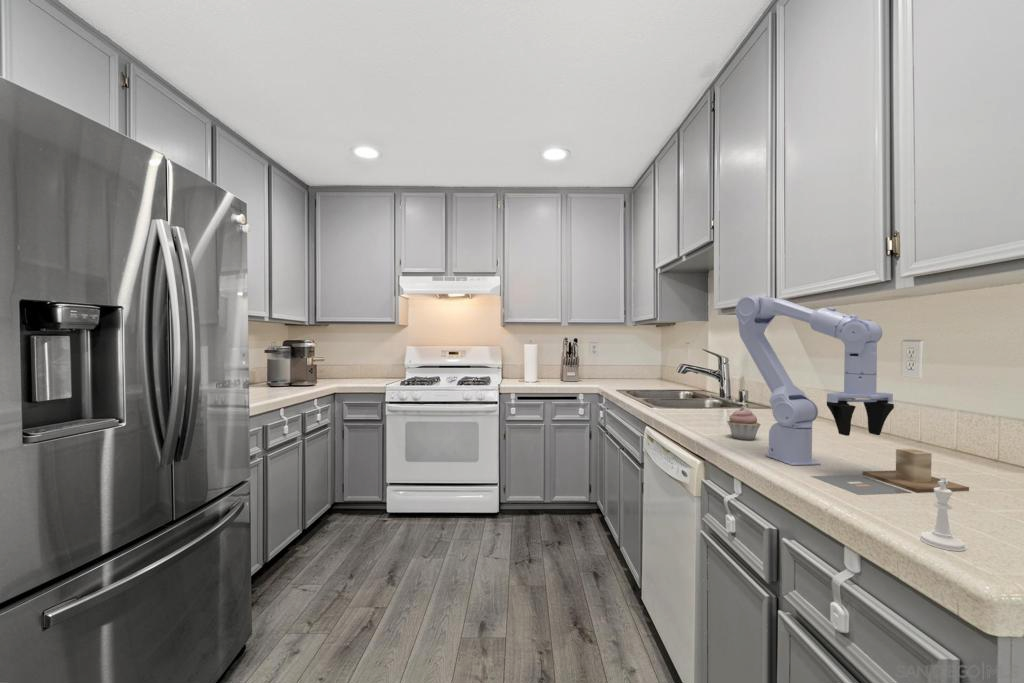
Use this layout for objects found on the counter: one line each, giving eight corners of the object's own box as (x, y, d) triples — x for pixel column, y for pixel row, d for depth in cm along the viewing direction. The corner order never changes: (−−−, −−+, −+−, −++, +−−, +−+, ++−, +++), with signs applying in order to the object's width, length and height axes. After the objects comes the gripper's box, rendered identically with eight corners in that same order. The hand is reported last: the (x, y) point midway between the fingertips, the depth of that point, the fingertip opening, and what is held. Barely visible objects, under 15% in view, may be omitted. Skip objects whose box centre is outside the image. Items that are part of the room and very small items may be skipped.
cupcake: (721, 434, 143) (721, 403, 143) (751, 435, 143) (751, 403, 143) (734, 441, 134) (735, 408, 134) (766, 441, 134) (767, 408, 134)
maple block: (895, 476, 98) (896, 448, 98) (911, 475, 98) (912, 448, 98) (914, 482, 94) (914, 453, 94) (931, 481, 94) (931, 453, 94)
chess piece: (912, 539, 68) (913, 473, 68) (931, 534, 70) (932, 470, 70) (953, 553, 64) (954, 483, 64) (973, 548, 66) (974, 480, 65)
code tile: (810, 476, 99) (810, 476, 99) (858, 475, 101) (858, 474, 101) (858, 495, 88) (858, 494, 88) (912, 493, 89) (912, 492, 89)
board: (862, 475, 101) (862, 471, 101) (909, 473, 103) (909, 470, 103) (917, 493, 89) (917, 489, 89) (968, 491, 91) (969, 487, 91)
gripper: (846, 375, 95) (845, 439, 95) (906, 375, 97) (905, 437, 97) (819, 372, 102) (818, 432, 102) (876, 372, 104) (875, 431, 104)
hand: (859, 434), depth 100 cm, fingers open, 7 cm apart
